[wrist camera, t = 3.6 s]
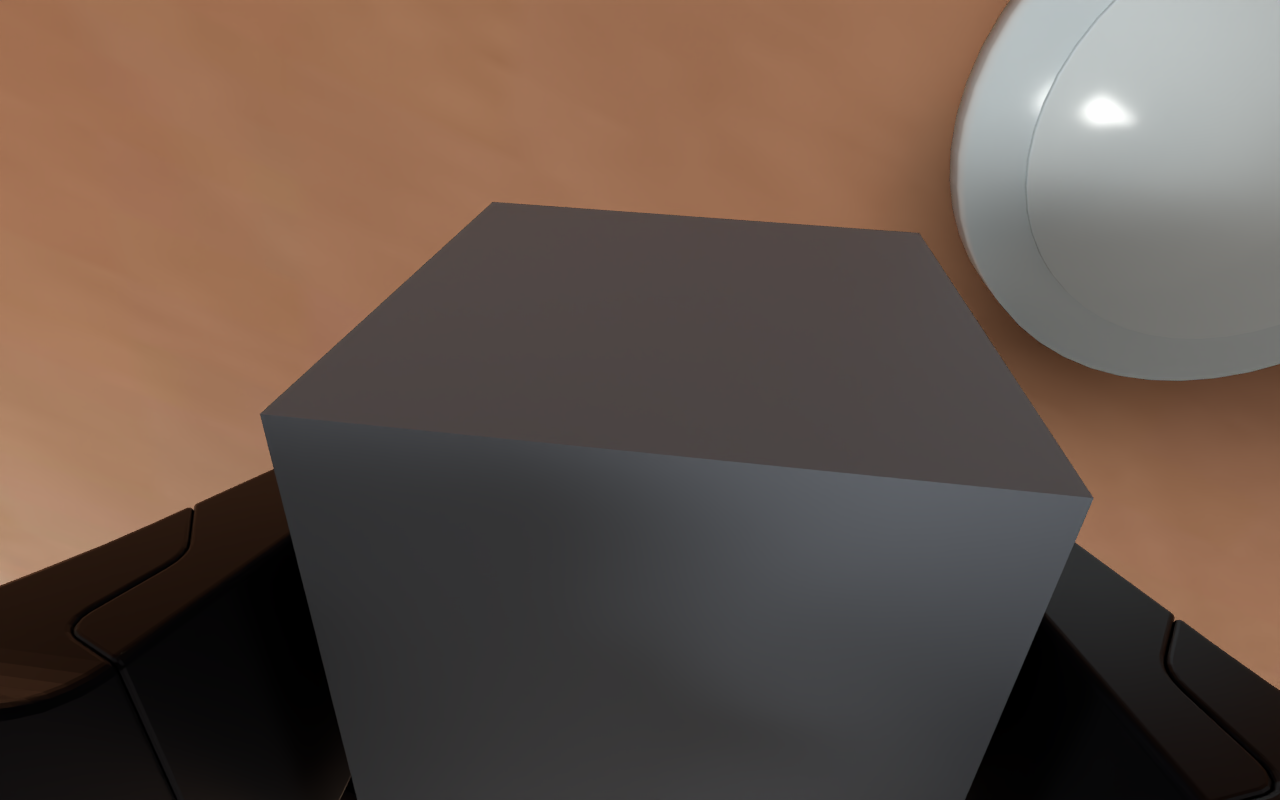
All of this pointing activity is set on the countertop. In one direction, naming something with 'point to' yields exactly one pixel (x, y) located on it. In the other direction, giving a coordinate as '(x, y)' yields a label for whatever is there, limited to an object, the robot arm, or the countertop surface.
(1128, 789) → the robot arm
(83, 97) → the countertop surface
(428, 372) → the block
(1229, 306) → the dish
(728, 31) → the countertop surface
